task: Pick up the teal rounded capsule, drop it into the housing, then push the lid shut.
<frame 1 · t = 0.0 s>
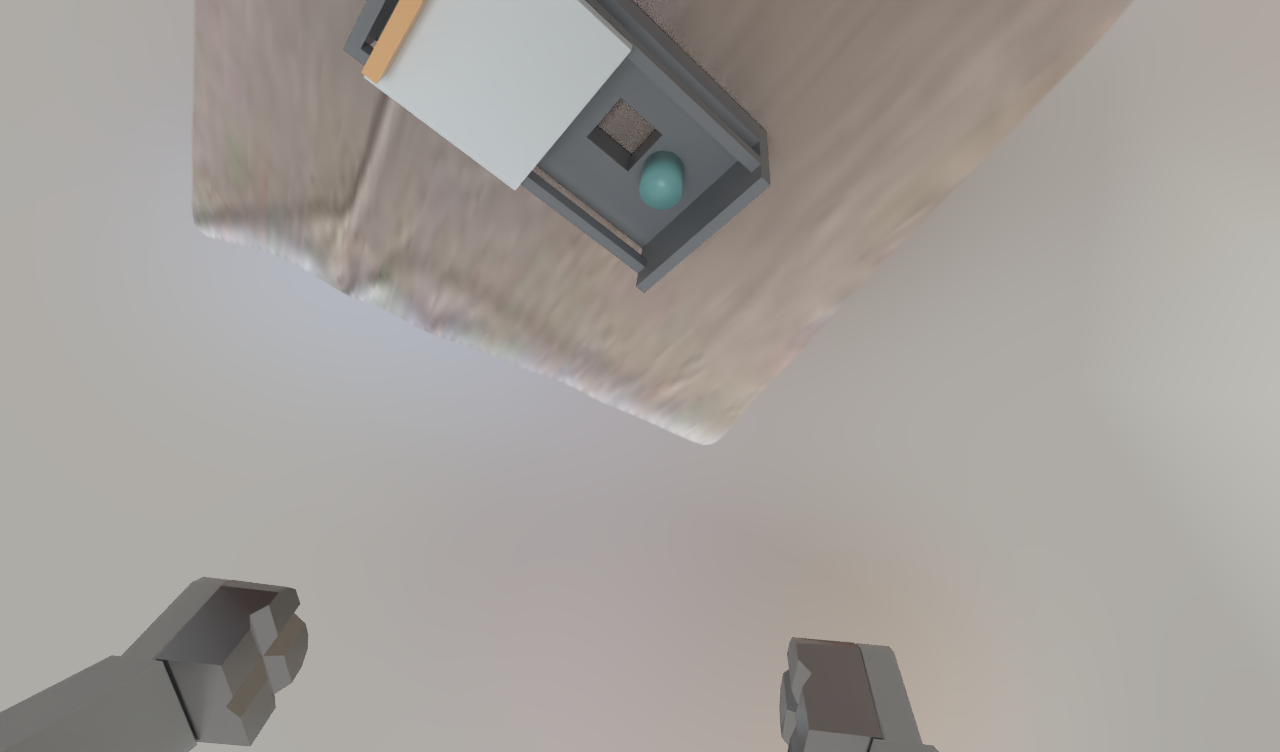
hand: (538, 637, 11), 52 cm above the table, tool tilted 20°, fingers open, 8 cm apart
housing: (578, 76, 56), on the table
lid: (490, 67, 47), point 9 cm above the table, slide at 13.0 cm
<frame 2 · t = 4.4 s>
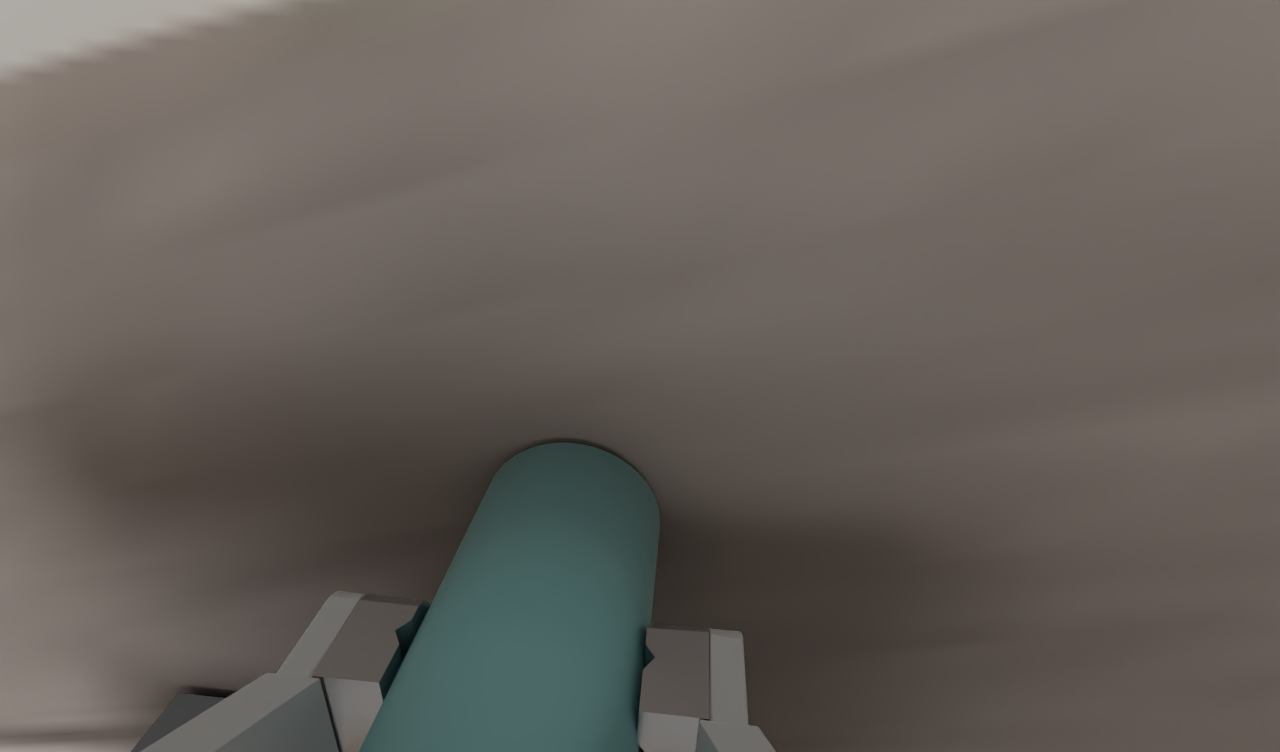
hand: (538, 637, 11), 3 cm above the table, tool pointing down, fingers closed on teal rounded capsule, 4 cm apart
teal rounded capsule: (572, 517, 13), on the table, touching gripper
when the fingers open (4 cm above the table, at t = 11.1 s): teal rounded capsule drops 1 cm, resting in housing.
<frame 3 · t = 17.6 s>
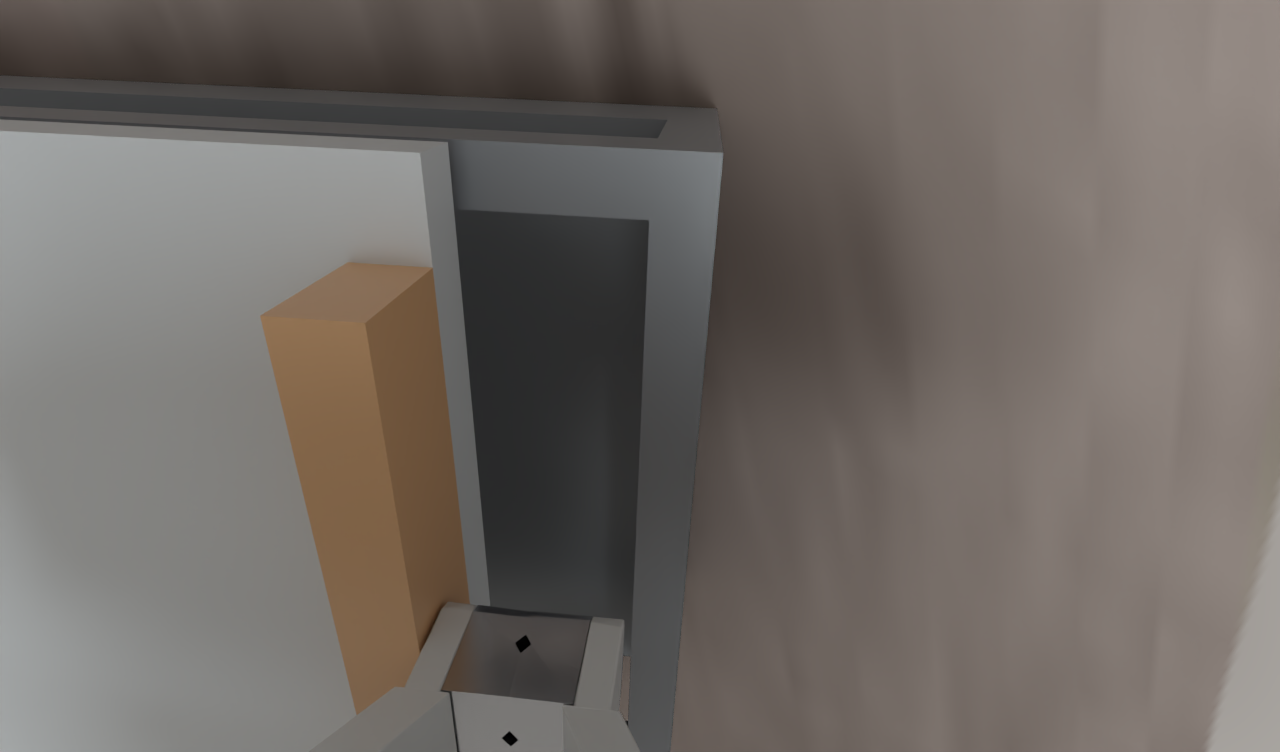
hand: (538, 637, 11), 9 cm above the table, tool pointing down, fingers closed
housing: (194, 353, 20), on the table
lid: (87, 578, 12), point 9 cm above the table, slide at 11.3 cm, touching gripper
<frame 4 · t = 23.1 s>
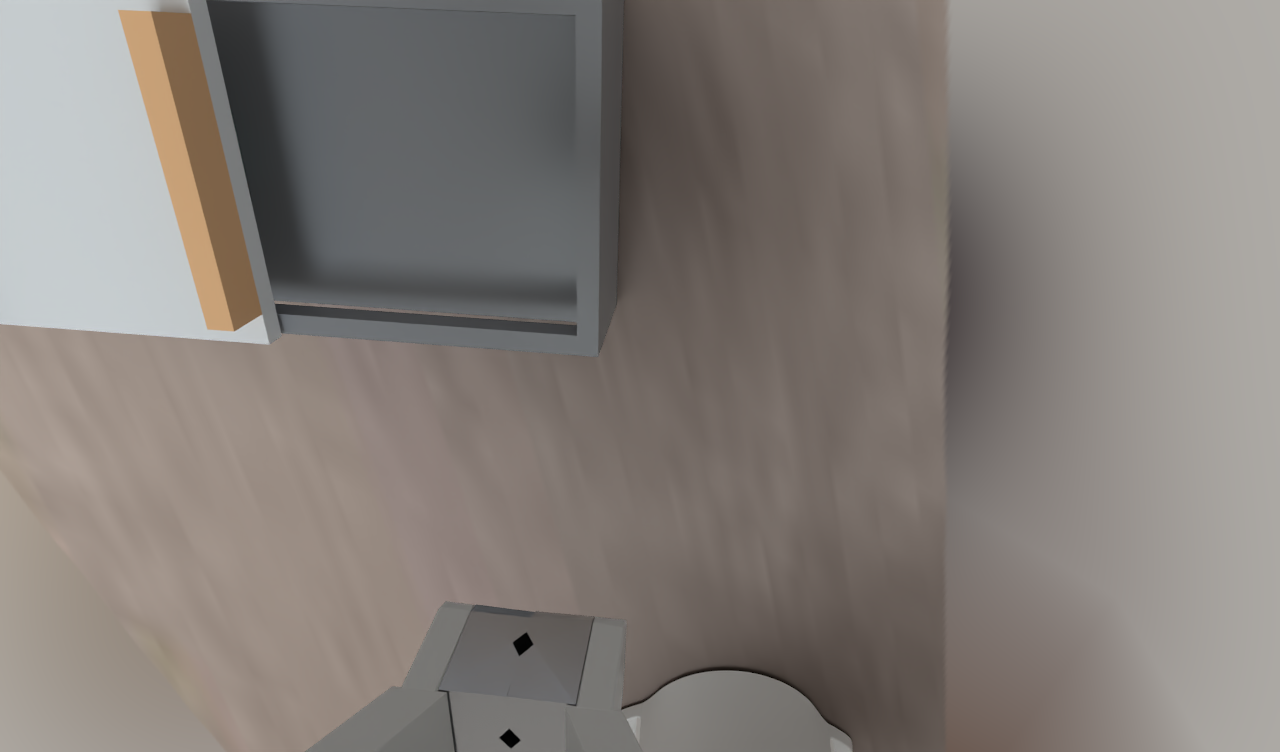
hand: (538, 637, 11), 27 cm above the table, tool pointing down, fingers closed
housing: (336, 150, 35), on the table
lid: (66, 171, 27), point 9 cm above the table, slide at 0.0 cm
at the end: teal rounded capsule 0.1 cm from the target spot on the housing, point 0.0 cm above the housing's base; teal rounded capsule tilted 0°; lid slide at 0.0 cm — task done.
